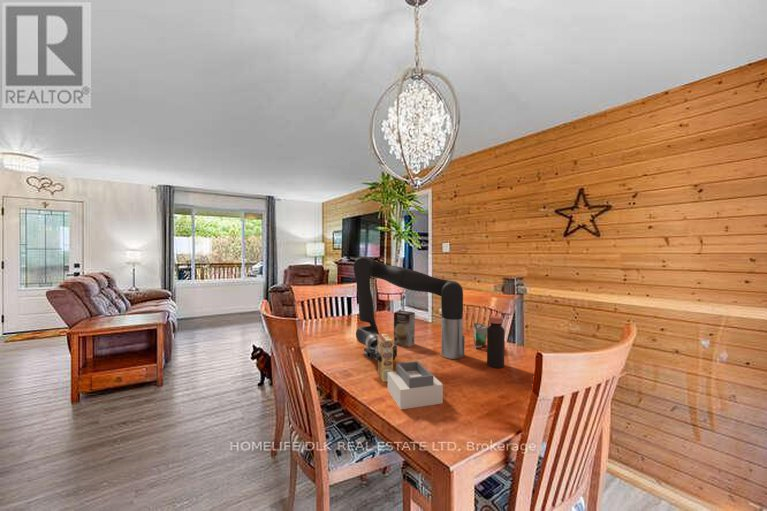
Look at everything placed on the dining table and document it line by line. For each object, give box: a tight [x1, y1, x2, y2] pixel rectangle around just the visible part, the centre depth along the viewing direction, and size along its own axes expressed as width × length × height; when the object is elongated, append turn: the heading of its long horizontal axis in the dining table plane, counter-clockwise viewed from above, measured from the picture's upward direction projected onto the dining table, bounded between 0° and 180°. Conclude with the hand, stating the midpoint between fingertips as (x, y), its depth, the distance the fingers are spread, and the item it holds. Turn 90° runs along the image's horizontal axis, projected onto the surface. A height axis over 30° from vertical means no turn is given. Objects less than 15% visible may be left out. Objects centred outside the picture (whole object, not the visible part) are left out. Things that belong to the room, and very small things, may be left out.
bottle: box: [486, 315, 506, 369], centre depth 132 cm, size 7×7×20 cm
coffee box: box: [393, 310, 416, 347], centre depth 160 cm, size 9×6×16 cm
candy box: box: [377, 333, 394, 383], centre depth 120 cm, size 9×4×15 cm, turn 13°
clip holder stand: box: [387, 360, 444, 411], centre depth 105 cm, size 14×14×9 cm
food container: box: [473, 322, 488, 350], centre depth 156 cm, size 12×6×10 cm, turn 168°
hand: (387, 358), depth 118 cm, fingers closed on candy box, 4 cm apart
